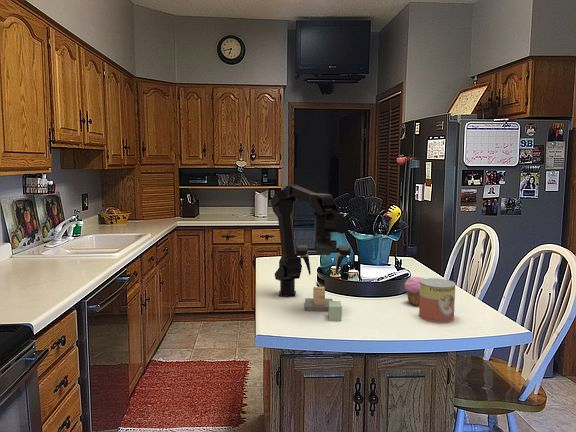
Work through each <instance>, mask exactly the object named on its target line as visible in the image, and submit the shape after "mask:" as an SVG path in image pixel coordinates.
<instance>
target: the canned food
mask: <svg viewBox="0 0 576 432" xmlns="http://www.w3.org/2000/svg"><path fill="white" fill-rule="evenodd" d="M455 300H456V282H454V281H453V280H449V279H444V278H439V277H438V278H435V277H431V278H425V279H422V280H421V281H420V305H418V306H419V309H418V311H419V312H418V317H419V318H420V319H421V320H423V321H426V322H428V323H434V324H447V323H452V322H453V321H454V320H455Z"/></svg>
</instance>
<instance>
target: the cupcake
mask: <svg viewBox="0 0 576 432" xmlns="http://www.w3.org/2000/svg"><path fill="white" fill-rule="evenodd" d="M422 279H426V278H424V277H420V276H412V277H409V278H408V279H407V280H406V281H405V282H404V289H405V290H406V294H407V301H408V303H410V304H412V305H414V306H419V305H420V281H421V280H422Z"/></svg>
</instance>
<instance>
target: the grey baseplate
mask: <svg viewBox="0 0 576 432" xmlns="http://www.w3.org/2000/svg"><path fill="white" fill-rule="evenodd" d="M329 301H334V300H333V298H325V305H313V298H310V297H309V298H307V297H306V298H304V304H305V305H304V311H306V312H329Z"/></svg>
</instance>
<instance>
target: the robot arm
mask: <svg viewBox="0 0 576 432" xmlns="http://www.w3.org/2000/svg"><path fill="white" fill-rule="evenodd" d="M298 200H299V201H301V202H303V203H306V204H308V206H309V208H310V209H312V210H313V212H312V213H311V214H310V217H313V218H314V247H308V245H307V244H302V245H300V244H298V245H297V246H296V249H295V243H294V235H293V228H292V218H291V217H292V213H293V211H294V209H295V207H294V206H295V205H294V204H295V203H296V202H297V201H298ZM270 204H271V207H272V208H271V209H272V212H273V213H274V214H275V216H276V217H277V220H278V221H277V222H278V229H279V230H278V231H279V238H280V245H281V256H280V258H279V260H278V262H279V263H278V269H276V271H275V272H274V279H275V280H277V281H279V284H280V285H279V286H280V287H279V292H278V297H296V295H297V291H296V290H295V289H296V288H295V287H296V286H295V285H296V283H295V280H297V279H300V277H301V273H302V270H303V266H302V259H303V261H304V263H305V266H306V268H307V273H308V275H309V276H311V264H310V263H311V262H310V258H309V257H310V256H309V254H316V255H317V256H331V255H332V254H336V260H335V270H334V271H335V276H337V275H338V272H339V269H340V268H341V267H340V266H341V263H343V260H344V259H347V258H348V256H351V253H352V252H351V248H350V246H349V245H348V244H346V245H345V244H342V245H341V244H339V245H338V244H337V239H333V240H332V233H334V234H340V235H341V234H345V233H346V232H347V231H348V230H349V227H350V226H349V225H350V224H349V220H348V218H347V217H345V213H344V212H341V211H340V209H339V207H338V206H337V205H338V204H337V203H336V201H335V199H334V196H333V195H332V194H330V193H319V192H318V193H317V192H314V191H311V190H309V189H307V188H304V187H301V186H300V185H298V184H287V185H286V186H285V187H284V188H283V189H281V190H279V191H277V192H276V193H275V194H274V195H273V196H272V198H271V200H270Z"/></svg>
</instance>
